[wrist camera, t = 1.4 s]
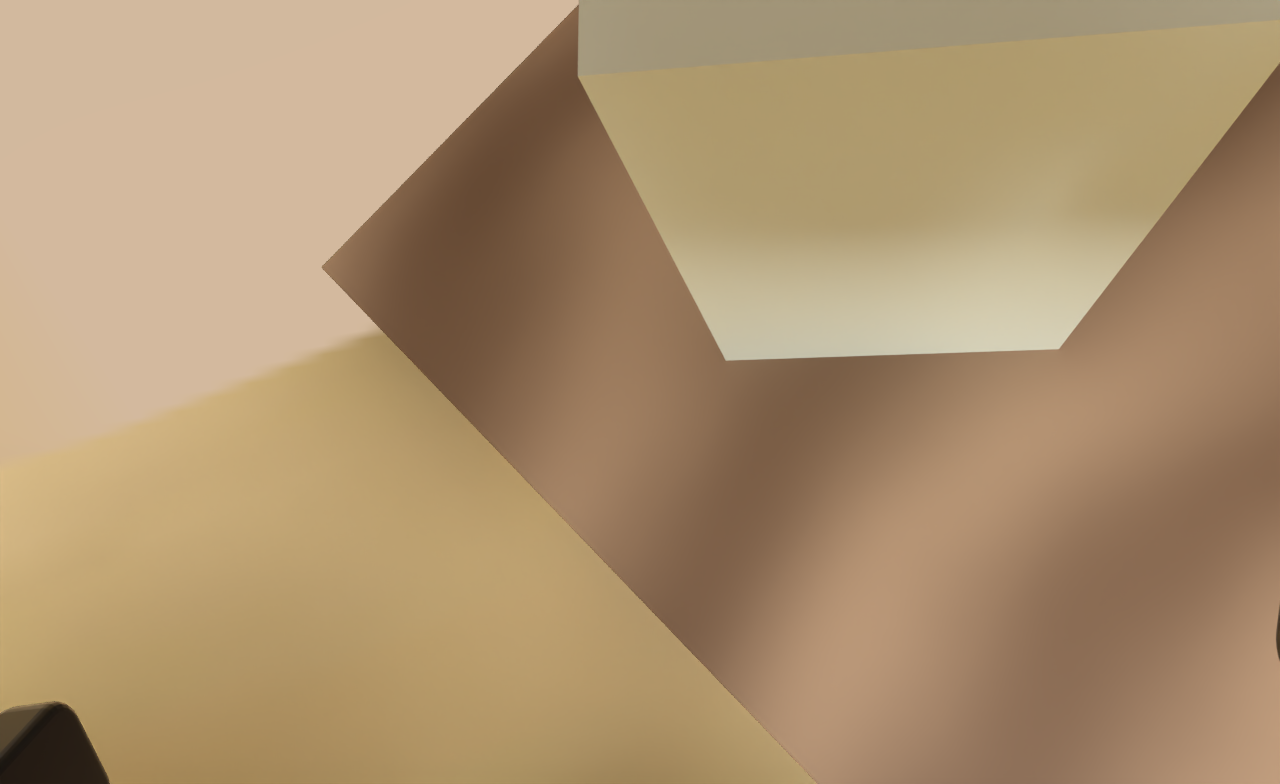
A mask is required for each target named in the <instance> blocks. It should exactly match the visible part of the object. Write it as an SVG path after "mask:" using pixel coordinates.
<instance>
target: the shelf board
mask: <svg viewBox="0 0 1280 784" xmlns="http://www.w3.org/2000/svg"><path fill="white" fill-rule="evenodd" d="M578 25H579V5H578V6H577V7H576V8H575V9H574V10H573V11H572V12H571V13H570V14H569V15H568V16H567V17H566V18H565V19H564V20H563V21H562V22H561V23H560V24H559V25H558V26H557V27H556V28H555V29H554V30H553V31H552V32H551V33H550V34H549V35H548V36H547V38H545V39H544V40H543V42H542V43H541V44H540V45H539V46H538V47H537V48H536V49H535V50H534V51H533V52H532V53H531V54H530V55H529V56H528V57H527V58H526V59H525V60H524V61H523V62H522V63H521V64H520V65H519V66H518V67H517V68H516V69H515V70H514V71H513V72H512V73H511V74H510V75H509V76H508V77H507V78H506V79H505V80H504V81H503V82H502V83H501V85H499V86H498V88H496V90H495V91H494V92H493V93H492V94H491V95H490V96H489V97H488V98H487V99H486V100H485V101H484V102H483V103H482V104H481V105H480V106H479V107H478V108H477V109H476V110H475V111H474V112H473V113H472V114H471V115H470V116H469V117H468V118H467V119H466V120H465V121H464V122H463V123H462V124H461V125H460V126H459V127H458V128H457V129H456V130H455V131H454V132H453V133H452V135H450V136H449V138H448V139H447V140H446V141H445V142H444V143H443V144H442V145H441V146H440V147H439V148H438V149H437V150H436V151H435V152H434V153H433V154H432V155H431V156H430V157H429V158H428V159H427V160H426V161H425V162H424V163H423V164H422V165H421V166H420V167H419V168H418V169H417V170H416V171H415V172H414V173H413V174H412V175H411V176H410V177H409V178H408V179H407V181H405V182H404V184H402V185H401V187H400V188H399V189H398V190H397V191H396V192H395V193H394V194H393V195H392V196H391V197H390V198H389V199H388V200H387V201H386V202H385V203H384V204H383V205H382V206H381V207H380V208H379V209H378V210H377V211H376V212H375V213H374V214H373V215H372V216H371V217H370V218H369V219H368V220H367V221H366V222H365V223H364V224H363V225H362V226H361V227H360V228H359V229H358V230H357V231H356V233H355V234H354V235H353V236H352V237H351V238H350V239H349V240H348V241H347V242H346V243H345V244H344V245H343V246H342V247H341V248H340V249H339V250H338V251H337V252H336V253H335V254H334V255H333V256H332V257H331V258H330V259H329V260H328V261H327V262H326V263H325V264H324V265H323V266H322V268H323V269H324V270H325V272H326V273H327V274H328V275H329V276H330V277H331V278H332V279H333V280H334V281H335V282H336V283H337V284H338V285H339V286H340V287H341V288H342V289H343V290H344V291H345V292H346V293H347V294H348V295H349V297H350V298H351V299H352V300H353V301H354V302H355V303H356V304H357V305H358V306H359V307H360V308H361V309H362V310H363V311H364V312H365V313H366V314H367V315H368V316H369V317H370V318H371V319H372V320H373V322H374V323H375V324H376V325H377V326H378V327H379V328H380V329H381V330H382V331H383V332H384V333H385V334H386V335H387V336H388V337H389V338H390V339H391V340H392V341H393V342H394V343H395V344H396V345H397V347H398V348H399V349H400V350H401V351H402V352H403V353H404V354H405V355H406V356H407V357H408V358H409V359H410V360H411V361H412V362H413V363H414V364H415V365H416V366H417V367H418V368H419V369H420V370H421V371H422V373H423V374H424V375H425V376H426V377H427V378H428V379H429V380H430V381H431V382H432V383H433V384H434V385H435V386H436V387H437V388H438V389H439V390H440V391H441V392H442V393H443V394H444V395H445V396H446V398H447V399H448V400H449V401H450V402H451V403H452V404H453V405H454V406H455V407H456V408H457V409H458V410H459V411H460V412H461V413H462V414H463V415H464V416H465V417H466V418H467V419H468V420H469V421H470V422H471V424H472V425H473V426H474V427H475V428H476V429H477V430H478V431H479V432H480V433H481V434H482V435H483V436H484V437H485V438H486V439H487V440H488V441H489V442H490V443H491V444H492V445H493V446H494V447H495V449H496V450H497V451H498V452H499V453H500V454H501V455H502V456H503V457H504V458H505V459H506V460H507V461H508V462H509V463H510V464H511V465H512V466H513V467H514V468H515V469H516V470H517V471H518V472H519V473H520V475H521V476H522V477H523V478H524V479H525V480H526V481H527V482H528V483H529V484H530V485H531V486H532V487H533V488H534V489H535V490H536V491H537V492H538V493H539V494H540V495H541V496H542V497H543V498H544V500H545V501H546V502H547V503H548V504H549V505H550V506H551V507H552V508H553V509H554V510H555V511H556V512H557V513H558V514H559V515H560V516H561V517H562V518H563V519H564V520H565V521H566V522H567V523H568V524H569V526H570V527H571V528H572V529H573V530H574V531H575V532H576V533H577V534H578V535H579V536H580V537H581V538H582V539H583V540H584V541H585V542H586V543H587V544H588V545H589V546H590V547H591V548H592V549H593V550H594V552H595V553H596V554H597V555H598V556H599V557H600V558H601V559H602V560H603V561H604V562H605V563H606V564H607V565H608V566H609V567H610V568H611V569H612V570H613V571H614V572H615V573H616V574H617V575H618V577H619V578H620V579H621V580H622V581H623V582H624V583H625V584H626V585H627V586H628V587H629V588H630V589H631V590H632V591H633V592H634V593H635V594H636V595H637V596H638V597H639V598H640V599H641V600H642V601H643V603H644V604H645V605H646V606H647V607H648V608H649V609H650V610H651V611H652V612H653V613H654V614H655V615H656V616H657V617H658V618H659V619H660V620H661V621H662V622H663V623H664V624H665V625H666V626H667V628H668V629H669V630H670V631H671V632H672V633H673V634H674V635H675V636H676V637H677V638H678V639H679V640H680V641H681V642H682V643H683V644H684V645H685V646H686V647H687V648H688V649H689V650H690V651H691V652H692V654H693V655H694V656H695V657H696V658H697V659H698V660H699V661H700V662H701V663H702V664H703V665H704V666H705V667H706V668H707V669H708V670H709V671H710V672H711V673H712V674H713V675H714V676H715V677H716V679H717V680H718V681H719V682H720V683H721V684H722V685H723V686H724V687H725V688H726V689H727V690H728V691H729V692H730V693H731V694H732V695H733V696H734V697H735V698H736V699H737V700H738V701H739V702H740V703H741V705H742V706H743V707H744V708H745V709H746V710H747V711H748V712H749V713H750V714H751V715H752V716H753V717H754V718H755V719H756V720H757V721H758V722H759V723H760V724H761V725H762V726H763V727H764V728H765V730H766V731H767V732H768V733H769V734H770V735H771V736H772V737H773V738H774V739H775V740H776V741H777V742H778V743H779V744H780V745H781V746H782V747H783V748H784V749H785V750H786V751H787V752H788V753H789V754H790V756H791V757H792V758H793V759H794V760H795V761H796V762H797V763H798V764H799V765H800V766H801V767H802V768H803V769H804V770H805V771H806V772H807V773H808V774H809V775H810V776H811V777H812V778H813V779H814V781H815V782H816V783H817V784H1280V661H1279V658H1278V653H1277V647H1276V629H1277V621H1278V613H1279V605H1280V63H1279V64H1278V66H1277V67H1276V68H1275V70H1274V71H1273V72H1272V73H1271V75H1270V76H1269V77H1268V79H1267V80H1266V81H1265V82H1264V84H1263V85H1262V86H1261V88H1260V89H1259V90H1258V92H1257V93H1256V94H1255V95H1254V97H1253V98H1252V99H1251V101H1250V102H1249V103H1248V105H1247V106H1246V107H1245V108H1244V110H1243V111H1242V112H1241V114H1240V115H1239V116H1238V117H1237V119H1236V120H1235V121H1234V123H1233V124H1232V125H1231V127H1230V128H1229V129H1228V130H1227V132H1226V133H1225V134H1224V136H1223V137H1222V138H1221V140H1220V141H1219V142H1218V143H1217V145H1216V146H1215V147H1214V149H1213V150H1212V151H1211V152H1210V154H1209V155H1208V156H1207V158H1206V159H1205V160H1204V162H1203V163H1202V164H1201V165H1200V167H1199V168H1198V169H1197V171H1196V172H1195V173H1194V175H1193V176H1192V177H1191V178H1190V180H1189V181H1188V182H1187V184H1186V185H1185V186H1184V187H1183V189H1182V190H1181V191H1180V193H1179V194H1178V195H1177V197H1176V198H1175V199H1174V200H1173V202H1172V203H1171V204H1170V206H1169V207H1168V208H1167V210H1166V211H1165V212H1164V213H1163V215H1162V216H1161V217H1160V219H1159V220H1158V221H1157V222H1156V224H1155V225H1154V226H1153V228H1152V229H1151V230H1150V232H1149V233H1148V234H1147V235H1146V237H1145V238H1144V239H1143V241H1142V242H1141V243H1140V245H1139V246H1138V247H1137V248H1136V250H1135V251H1134V252H1133V254H1132V255H1131V256H1130V257H1129V259H1128V260H1127V261H1126V263H1125V264H1124V265H1123V267H1122V268H1121V269H1120V270H1119V272H1118V273H1117V274H1116V276H1115V277H1114V278H1113V280H1112V281H1111V282H1110V283H1109V285H1108V286H1107V287H1106V289H1105V290H1104V291H1103V292H1102V294H1101V295H1100V296H1099V298H1098V299H1097V300H1096V302H1095V303H1094V304H1093V305H1092V307H1091V308H1090V309H1089V311H1088V312H1087V313H1086V315H1085V316H1084V317H1083V318H1082V320H1081V321H1080V322H1079V324H1078V325H1077V326H1076V327H1075V329H1074V330H1073V331H1072V333H1071V334H1070V335H1069V337H1068V338H1067V339H1066V340H1065V342H1064V343H1063V344H1062V346H1061V347H1060V348H1059V349H1051V350H1022V351H992V352H963V353H934V354H904V355H875V356H846V357H816V358H787V359H758V360H729V361H726V360H725V358H724V356H723V354H722V352H721V350H720V348H719V347H718V345H717V343H716V341H715V339H714V337H713V335H712V333H711V331H710V329H709V327H708V325H707V324H706V322H705V320H704V318H703V316H702V314H701V312H700V310H699V308H698V306H697V304H696V302H695V300H694V299H693V297H692V295H691V293H690V291H689V289H688V287H687V285H686V283H685V281H684V279H683V277H682V276H681V274H680V272H679V270H678V268H677V266H676V264H675V262H674V260H673V258H672V256H671V254H670V252H669V251H668V249H667V247H666V245H665V243H664V241H663V239H662V237H661V235H660V233H659V231H658V229H657V227H656V226H655V224H654V222H653V220H652V218H651V216H650V214H649V212H648V210H647V208H646V206H645V204H644V203H643V201H642V199H641V197H640V195H639V193H638V191H637V189H636V187H635V185H634V183H633V181H632V179H631V178H630V176H629V174H628V172H627V170H626V168H625V166H624V164H623V162H622V160H621V158H620V156H619V154H618V153H617V151H616V149H615V147H614V145H613V143H612V141H611V139H610V137H609V135H608V133H607V131H606V130H605V128H604V126H603V124H602V122H601V120H600V118H599V116H598V114H597V112H596V110H595V108H594V106H593V105H592V103H591V101H590V99H589V97H588V95H587V93H586V91H585V89H584V87H583V85H582V83H581V81H580V80H579V78H578Z"/></svg>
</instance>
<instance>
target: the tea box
mask: <svg viewBox="0 0 1280 784" xmlns="http://www.w3.org/2000/svg"><path fill="white" fill-rule="evenodd" d="M1279 63H1280V0H579V25H578V78H579V80H580V81H581V83H582V85H583V87H584V89H585V91H586V93H587V95H588V97H589V99H590V101H591V103H592V105H593V106H594V108H595V110H596V112H597V114H598V116H599V118H600V120H601V122H602V124H603V126H604V128H605V130H606V131H607V133H608V135H609V137H610V139H611V141H612V143H613V145H614V147H615V149H616V151H617V153H618V154H619V156H620V158H621V160H622V162H623V164H624V166H625V168H626V170H627V172H628V174H629V176H630V178H631V179H632V181H633V183H634V185H635V187H636V189H637V191H638V193H639V195H640V197H641V199H642V201H643V203H644V204H645V206H646V208H647V210H648V212H649V214H650V216H651V218H652V220H653V222H654V224H655V226H656V227H657V229H658V231H659V233H660V235H661V237H662V239H663V241H664V243H665V245H666V247H667V249H668V251H669V252H670V254H671V256H672V258H673V260H674V262H675V264H676V266H677V268H678V270H679V272H680V274H681V276H682V277H683V279H684V281H685V283H686V285H687V287H688V289H689V291H690V293H691V295H692V297H693V299H694V300H695V302H696V304H697V306H698V308H699V310H700V312H701V314H702V316H703V318H704V320H705V322H706V324H707V325H708V327H709V329H710V331H711V333H712V335H713V337H714V339H715V341H716V343H717V345H718V347H719V348H720V350H721V352H722V354H723V356H724V358H725V360H726V361H729V360H758V359H787V358H816V357H846V356H875V355H904V354H934V353H963V352H992V351H1022V350H1051V349H1059V348H1060V347H1061V346H1062V344H1063V343H1064V342H1065V340H1066V339H1067V338H1068V337H1069V335H1070V334H1071V333H1072V331H1073V330H1074V329H1075V327H1076V326H1077V325H1078V324H1079V322H1080V321H1081V320H1082V318H1083V317H1084V316H1085V315H1086V313H1087V312H1088V311H1089V309H1090V308H1091V307H1092V305H1093V304H1094V303H1095V302H1096V300H1097V299H1098V298H1099V296H1100V295H1101V294H1102V292H1103V291H1104V290H1105V289H1106V287H1107V286H1108V285H1109V283H1110V282H1111V281H1112V280H1113V278H1114V277H1115V276H1116V274H1117V273H1118V272H1119V270H1120V269H1121V268H1122V267H1123V265H1124V264H1125V263H1126V261H1127V260H1128V259H1129V257H1130V256H1131V255H1132V254H1133V252H1134V251H1135V250H1136V248H1137V247H1138V246H1139V245H1140V243H1141V242H1142V241H1143V239H1144V238H1145V237H1146V235H1147V234H1148V233H1149V232H1150V230H1151V229H1152V228H1153V226H1154V225H1155V224H1156V222H1157V221H1158V220H1159V219H1160V217H1161V216H1162V215H1163V213H1164V212H1165V211H1166V210H1167V208H1168V207H1169V206H1170V204H1171V203H1172V202H1173V200H1174V199H1175V198H1176V197H1177V195H1178V194H1179V193H1180V191H1181V190H1182V189H1183V187H1184V186H1185V185H1186V184H1187V182H1188V181H1189V180H1190V178H1191V177H1192V176H1193V175H1194V173H1195V172H1196V171H1197V169H1198V168H1199V167H1200V165H1201V164H1202V163H1203V162H1204V160H1205V159H1206V158H1207V156H1208V155H1209V154H1210V152H1211V151H1212V150H1213V149H1214V147H1215V146H1216V145H1217V143H1218V142H1219V141H1220V140H1221V138H1222V137H1223V136H1224V134H1225V133H1226V132H1227V130H1228V129H1229V128H1230V127H1231V125H1232V124H1233V123H1234V121H1235V120H1236V119H1237V117H1238V116H1239V115H1240V114H1241V112H1242V111H1243V110H1244V108H1245V107H1246V106H1247V105H1248V103H1249V102H1250V101H1251V99H1252V98H1253V97H1254V95H1255V94H1256V93H1257V92H1258V90H1259V89H1260V88H1261V86H1262V85H1263V84H1264V82H1265V81H1266V80H1267V79H1268V77H1269V76H1270V75H1271V73H1272V72H1273V71H1274V70H1275V68H1276V67H1277V66H1278V64H1279Z"/></svg>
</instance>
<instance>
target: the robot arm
mask: <svg viewBox="0 0 1280 784" xmlns="http://www.w3.org/2000/svg"><path fill="white" fill-rule="evenodd" d="M1276 647H1277V653H1278V658H1279V661H1280V605H1279V613H1278V621H1277V629H1276ZM0 784H110V783H109V779H108V776H107V774H106V772H105V770H104V768H103V766H102V764H101V762H100V760H99V758H98V756H97V754H96V752H95V750H94V748H93V746H92V744H91V742H90V740H89V738H88V736H87V734H86V732H85V730H84V728H83V726H82V724H81V722H80V720H79V718H78V716H77V715H76V713H75V711H74V710H73V709H72V708H70V707H69V706H68V705H67V704H65V703H61V702H47V703H39V704H31V705H23V706H17V707H12V708H10V709H7V710H5V711H3V712H2V713H0Z"/></svg>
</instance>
